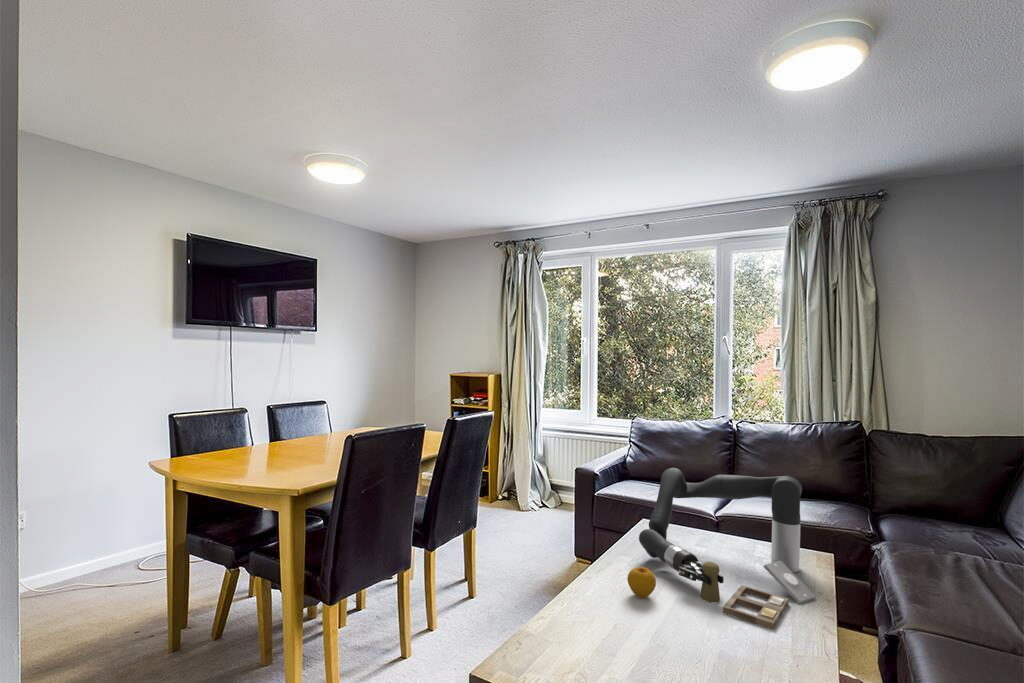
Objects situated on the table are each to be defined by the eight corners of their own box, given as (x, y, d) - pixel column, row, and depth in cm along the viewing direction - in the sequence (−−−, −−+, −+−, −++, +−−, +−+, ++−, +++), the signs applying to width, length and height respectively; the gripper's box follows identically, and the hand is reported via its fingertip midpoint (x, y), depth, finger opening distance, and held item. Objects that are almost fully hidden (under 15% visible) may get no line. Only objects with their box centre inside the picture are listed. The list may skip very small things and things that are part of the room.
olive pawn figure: (696, 593, 168) (697, 559, 168) (714, 593, 168) (715, 559, 169) (705, 602, 162) (706, 567, 162) (723, 602, 162) (724, 567, 163)
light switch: (801, 600, 162) (765, 562, 174) (792, 612, 165) (757, 574, 176) (818, 594, 166) (781, 558, 178) (809, 607, 169) (773, 570, 180)
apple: (633, 587, 171) (634, 559, 171) (659, 595, 166) (660, 567, 166) (622, 596, 164) (623, 568, 164) (649, 605, 159) (650, 576, 159)
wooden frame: (741, 590, 171) (741, 583, 171) (788, 604, 163) (788, 597, 163) (722, 612, 156) (722, 605, 156) (773, 629, 147) (773, 621, 147)
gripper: (697, 568, 181) (734, 590, 165) (663, 573, 176) (698, 596, 160) (697, 547, 181) (734, 566, 165) (664, 551, 176) (699, 572, 160)
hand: (716, 581), depth 163 cm, fingers closed on olive pawn figure, 4 cm apart
